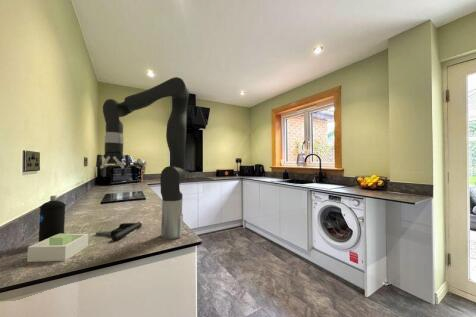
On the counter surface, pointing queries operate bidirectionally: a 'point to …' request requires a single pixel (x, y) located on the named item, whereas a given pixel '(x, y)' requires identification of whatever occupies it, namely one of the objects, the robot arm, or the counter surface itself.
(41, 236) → the aerosol can
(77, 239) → the white bin
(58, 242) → the green block
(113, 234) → the door handle
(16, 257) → the counter surface
